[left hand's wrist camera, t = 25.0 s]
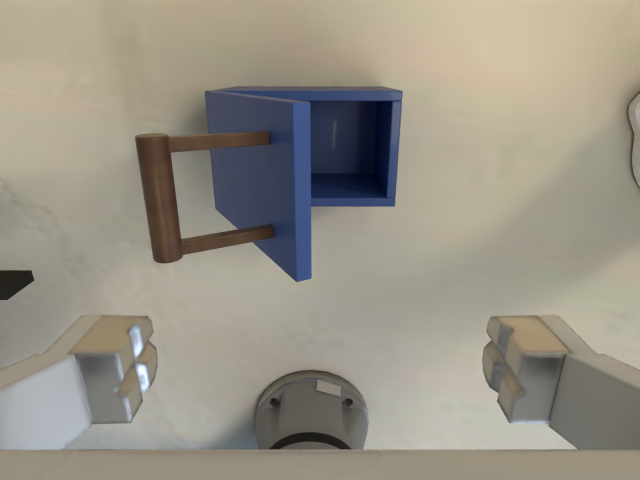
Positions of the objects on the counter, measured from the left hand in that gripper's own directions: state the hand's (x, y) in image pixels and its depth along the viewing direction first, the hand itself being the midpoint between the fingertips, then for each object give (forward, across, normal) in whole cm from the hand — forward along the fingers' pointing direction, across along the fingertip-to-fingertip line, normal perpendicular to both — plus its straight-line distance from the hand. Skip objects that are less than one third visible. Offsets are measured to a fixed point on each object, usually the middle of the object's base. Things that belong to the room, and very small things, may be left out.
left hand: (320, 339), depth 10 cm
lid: (+20, -4, 0) cm, 20 cm away
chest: (+38, -1, 0) cm, 38 cm away
